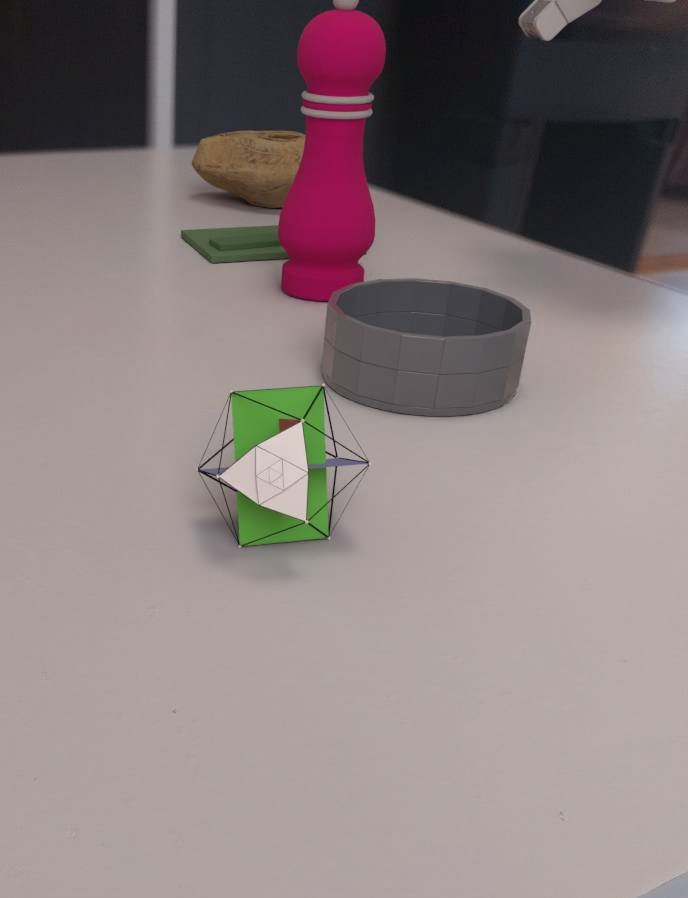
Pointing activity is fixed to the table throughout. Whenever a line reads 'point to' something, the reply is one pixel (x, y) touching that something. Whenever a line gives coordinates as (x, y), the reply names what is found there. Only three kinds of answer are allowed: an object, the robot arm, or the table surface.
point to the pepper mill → (332, 155)
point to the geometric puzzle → (280, 465)
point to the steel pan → (424, 346)
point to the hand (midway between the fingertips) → (531, 31)
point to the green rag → (236, 243)
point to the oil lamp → (251, 164)
